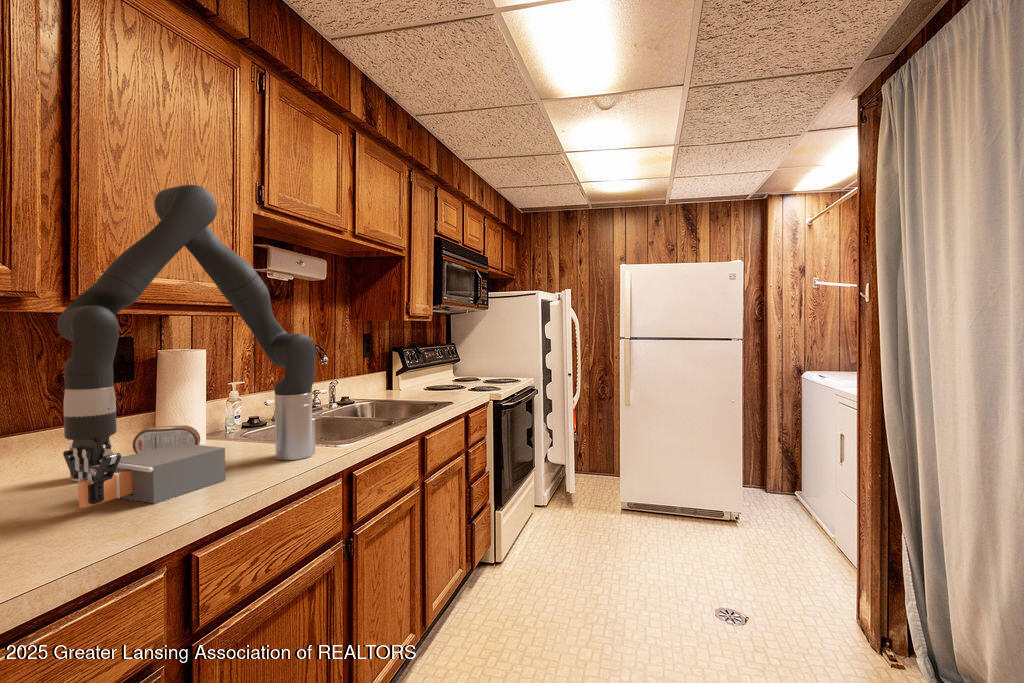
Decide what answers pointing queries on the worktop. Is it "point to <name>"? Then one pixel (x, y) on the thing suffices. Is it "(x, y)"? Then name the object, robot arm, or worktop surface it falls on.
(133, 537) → the worktop surface
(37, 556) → the worktop surface
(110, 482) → the ticket
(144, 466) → the dispenser
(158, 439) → the tin
